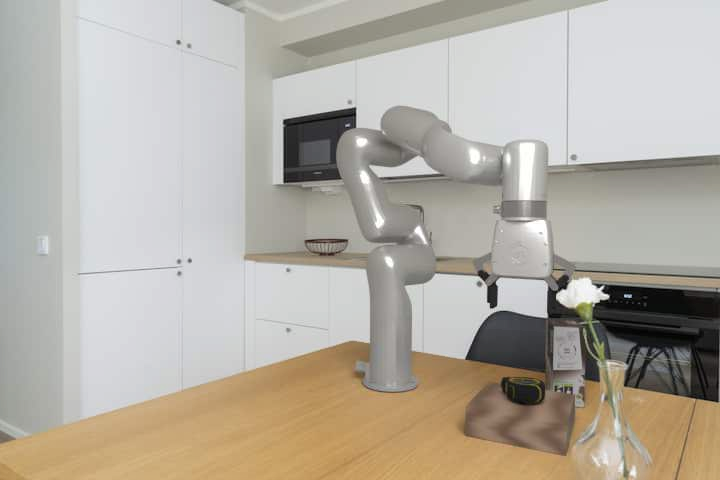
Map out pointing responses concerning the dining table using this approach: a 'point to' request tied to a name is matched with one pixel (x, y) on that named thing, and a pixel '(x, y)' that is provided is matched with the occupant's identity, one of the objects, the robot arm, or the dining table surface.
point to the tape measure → (523, 389)
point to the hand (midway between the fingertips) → (521, 310)
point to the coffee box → (565, 358)
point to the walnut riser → (522, 419)
